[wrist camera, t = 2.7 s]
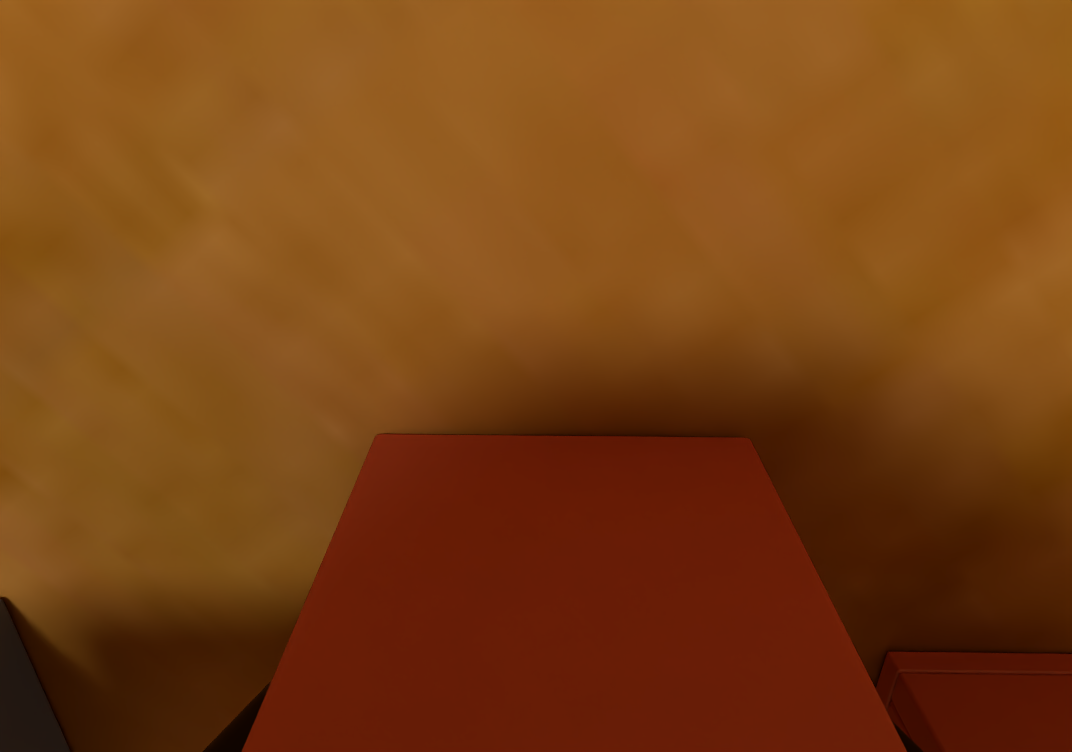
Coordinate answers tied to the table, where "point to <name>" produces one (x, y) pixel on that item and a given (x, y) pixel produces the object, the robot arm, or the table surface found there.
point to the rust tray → (980, 700)
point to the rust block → (568, 608)
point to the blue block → (23, 699)
